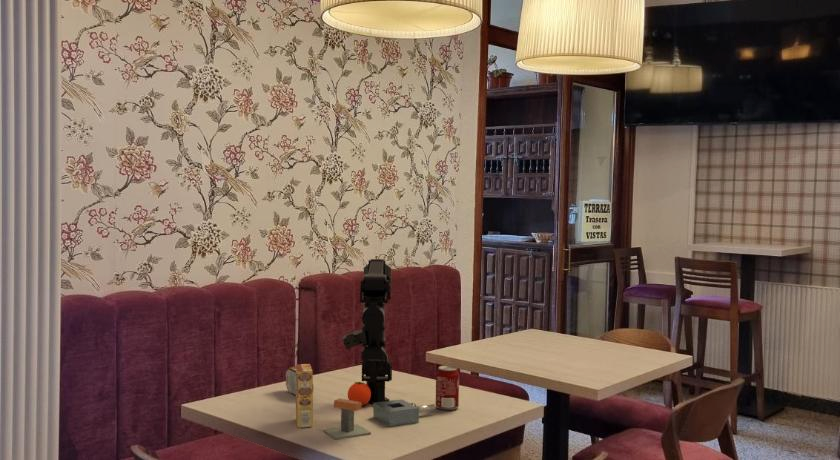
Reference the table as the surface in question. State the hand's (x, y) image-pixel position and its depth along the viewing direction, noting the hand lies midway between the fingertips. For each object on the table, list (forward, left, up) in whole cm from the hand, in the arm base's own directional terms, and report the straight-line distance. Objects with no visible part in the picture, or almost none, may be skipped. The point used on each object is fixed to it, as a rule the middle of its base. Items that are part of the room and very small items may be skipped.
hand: (373, 378), depth 219 cm
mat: (+6, -10, -12) cm, 17 cm away
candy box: (-7, -17, -12) cm, 23 cm away
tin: (-35, -8, -13) cm, 38 cm away
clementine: (-17, +4, -12) cm, 22 cm away
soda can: (-3, +26, -12) cm, 29 cm away
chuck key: (+6, -10, -12) cm, 17 cm away
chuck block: (+1, +11, -12) cm, 16 cm away
